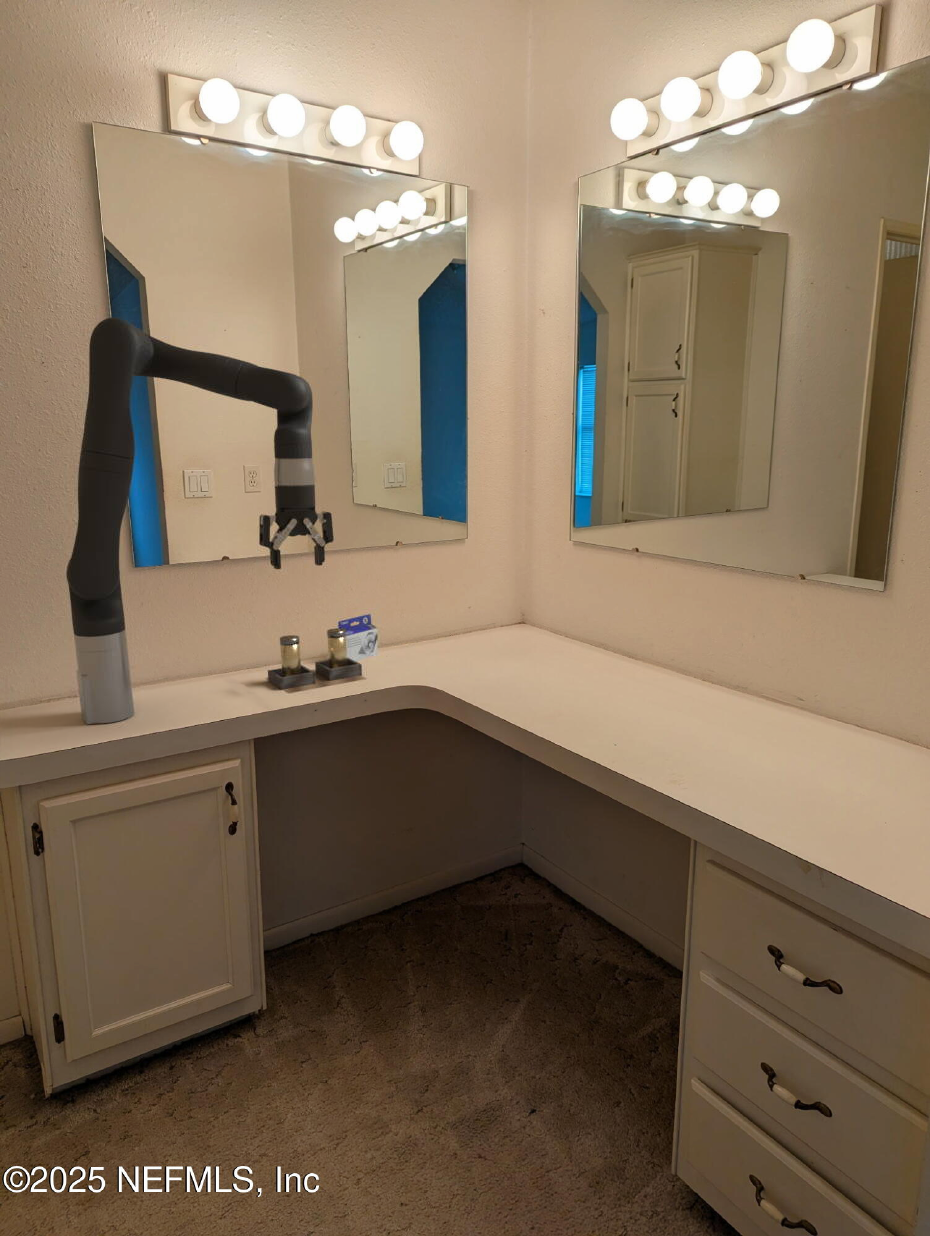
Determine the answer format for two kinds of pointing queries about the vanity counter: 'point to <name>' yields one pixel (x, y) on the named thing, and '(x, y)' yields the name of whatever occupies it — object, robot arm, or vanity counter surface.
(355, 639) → the ink box
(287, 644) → the billet
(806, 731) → the vanity counter surface
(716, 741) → the vanity counter surface
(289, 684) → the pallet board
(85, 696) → the robot arm
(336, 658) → the cylinder
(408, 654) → the vanity counter surface
